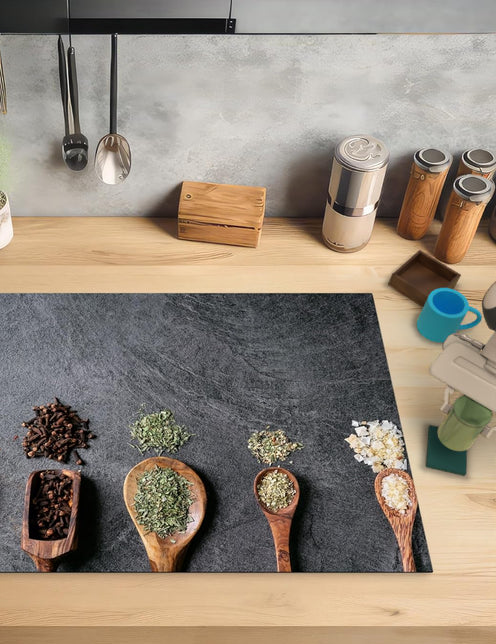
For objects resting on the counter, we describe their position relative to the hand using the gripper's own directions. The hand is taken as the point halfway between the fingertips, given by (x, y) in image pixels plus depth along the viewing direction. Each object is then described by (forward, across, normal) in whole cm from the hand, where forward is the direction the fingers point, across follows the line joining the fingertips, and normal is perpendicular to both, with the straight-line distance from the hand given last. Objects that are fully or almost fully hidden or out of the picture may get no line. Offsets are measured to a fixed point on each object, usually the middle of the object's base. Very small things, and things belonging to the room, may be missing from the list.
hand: (463, 424), depth 130 cm
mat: (+7, 0, +8) cm, 11 cm away
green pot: (+3, 0, +4) cm, 5 cm away
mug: (-12, -14, +27) cm, 33 cm away
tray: (-18, -24, +33) cm, 44 cm away
